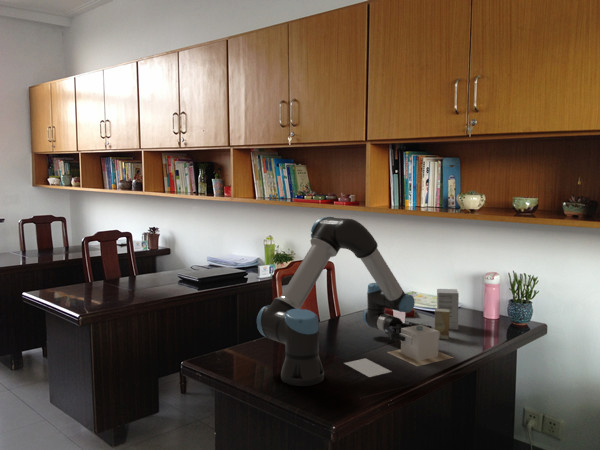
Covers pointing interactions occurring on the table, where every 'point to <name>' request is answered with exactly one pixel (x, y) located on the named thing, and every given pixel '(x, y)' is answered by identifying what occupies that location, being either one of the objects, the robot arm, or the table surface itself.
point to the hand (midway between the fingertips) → (425, 338)
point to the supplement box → (449, 305)
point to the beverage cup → (399, 315)
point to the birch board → (422, 362)
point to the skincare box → (442, 322)
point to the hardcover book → (409, 314)
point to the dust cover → (420, 342)
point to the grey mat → (367, 367)
